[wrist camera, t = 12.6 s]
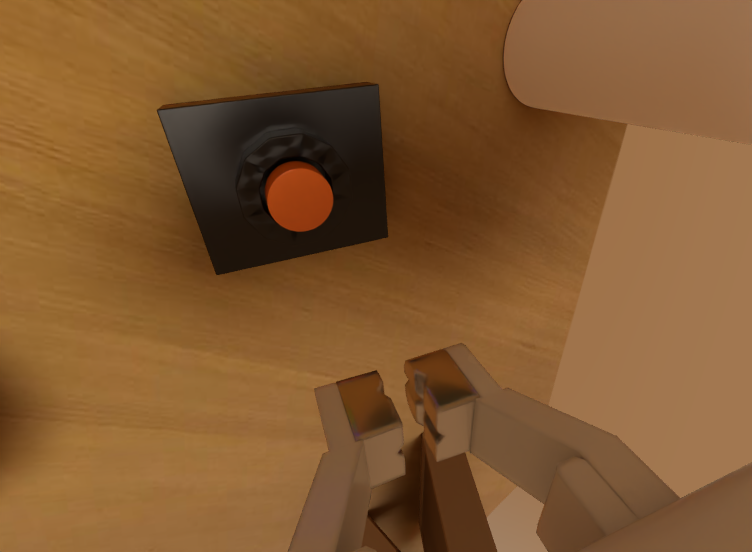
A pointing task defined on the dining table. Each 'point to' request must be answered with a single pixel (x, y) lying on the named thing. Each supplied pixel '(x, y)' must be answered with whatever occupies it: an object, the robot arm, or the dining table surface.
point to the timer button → (298, 196)
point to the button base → (266, 152)
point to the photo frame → (443, 510)
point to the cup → (637, 62)
